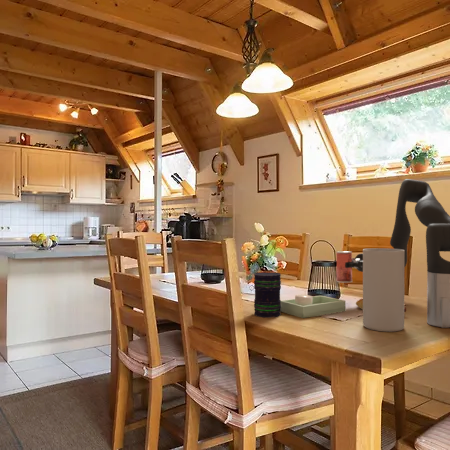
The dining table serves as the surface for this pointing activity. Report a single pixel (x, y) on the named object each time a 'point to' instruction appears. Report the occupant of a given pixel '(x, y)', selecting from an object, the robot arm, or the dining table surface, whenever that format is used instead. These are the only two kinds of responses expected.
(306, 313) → the green tray
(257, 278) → the storage jar
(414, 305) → the dining table surface
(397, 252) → the cylinder vase
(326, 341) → the dining table surface
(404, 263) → the robot arm
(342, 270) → the tin
